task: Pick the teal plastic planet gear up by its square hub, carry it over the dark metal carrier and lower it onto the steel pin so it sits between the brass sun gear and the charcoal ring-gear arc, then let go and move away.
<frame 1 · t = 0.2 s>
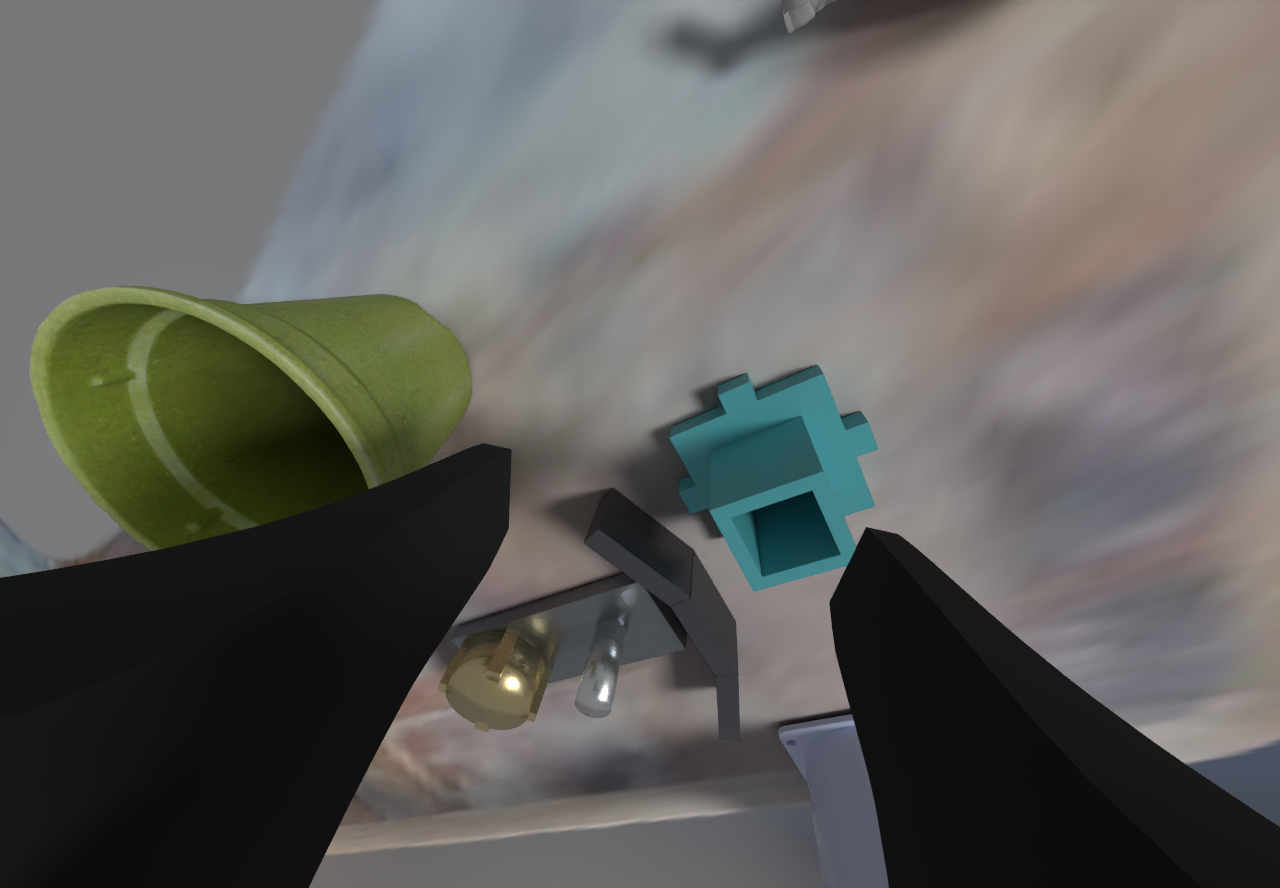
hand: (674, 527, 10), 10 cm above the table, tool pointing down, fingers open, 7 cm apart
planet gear: (770, 459, 19), on the table
carrier: (561, 631, 26), on the table
plant pot: (408, 368, 20), on the table
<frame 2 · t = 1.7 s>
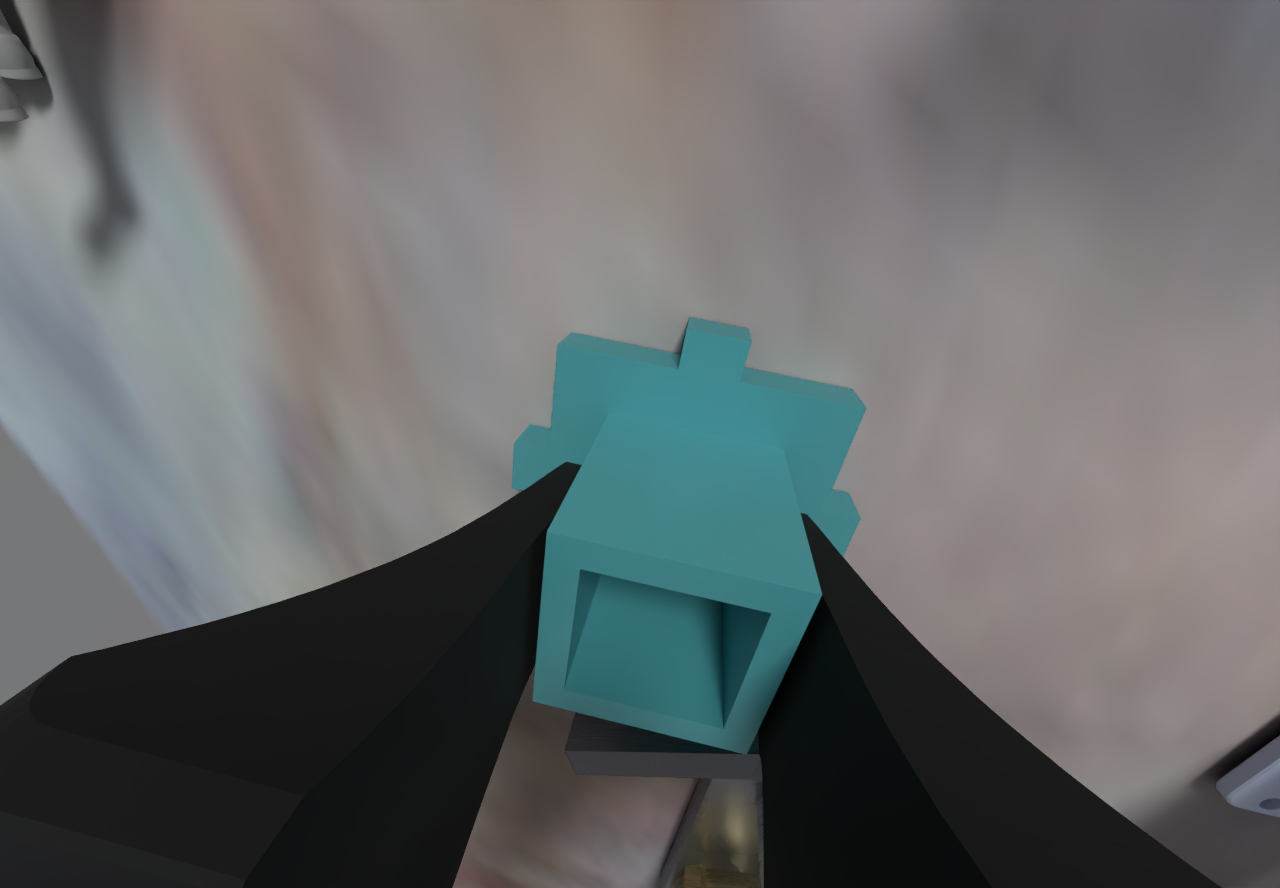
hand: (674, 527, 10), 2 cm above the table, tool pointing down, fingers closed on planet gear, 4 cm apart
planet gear: (681, 479, 11), on the table, touching gripper
carrier: (750, 824, 18), on the table
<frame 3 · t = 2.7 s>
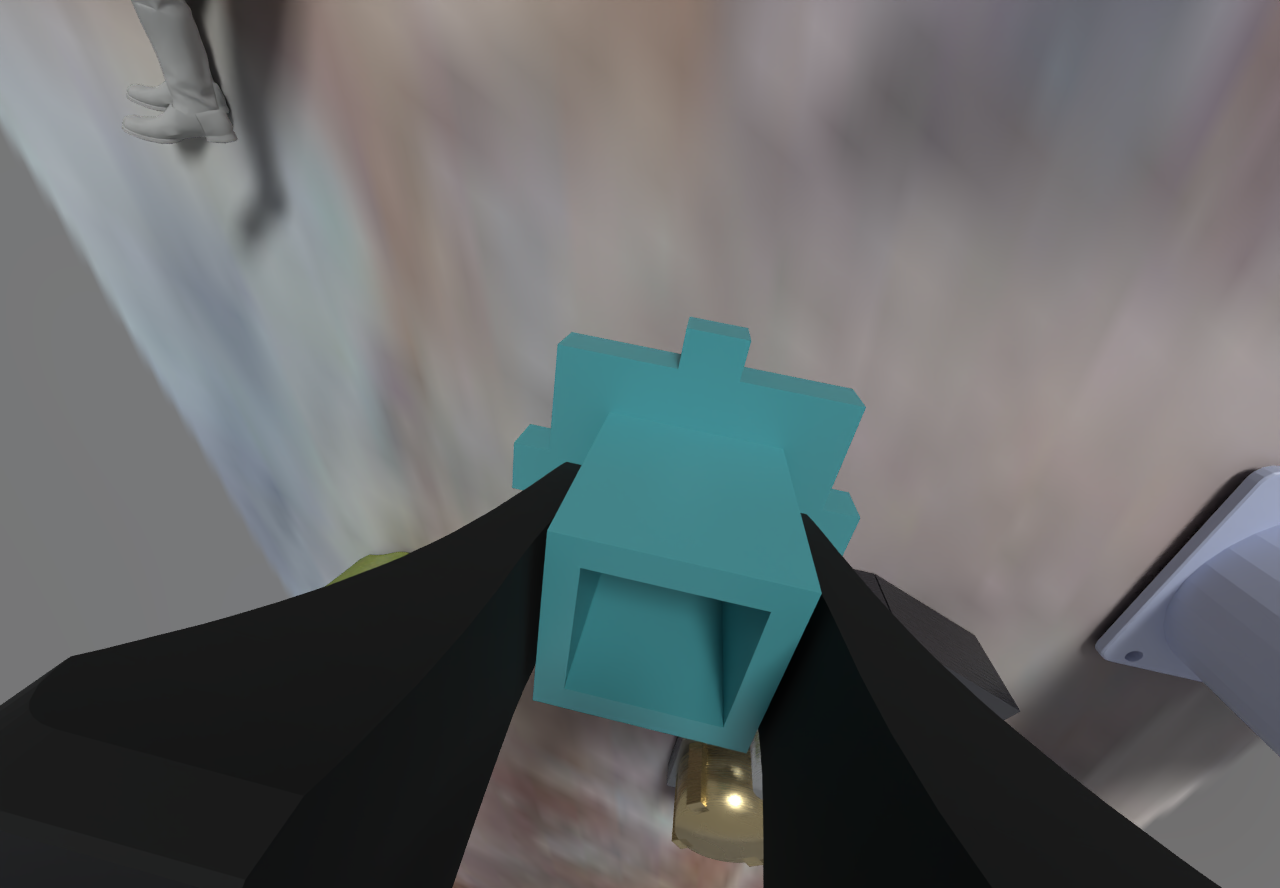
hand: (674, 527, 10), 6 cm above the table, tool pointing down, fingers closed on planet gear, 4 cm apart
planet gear: (681, 479, 11), point 4 cm above the table, touching gripper
carrier: (743, 709, 22), on the table
plant pot: (420, 598, 22), on the table
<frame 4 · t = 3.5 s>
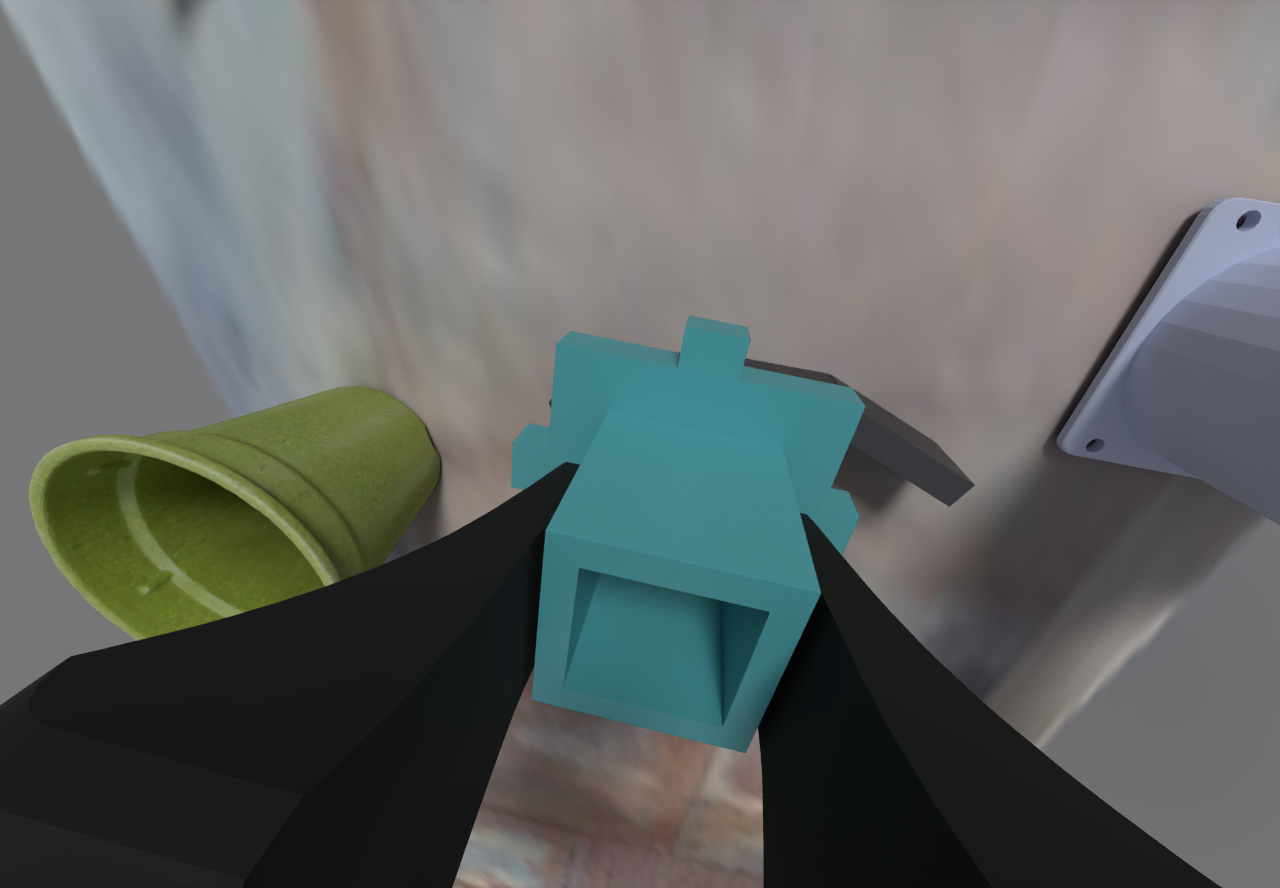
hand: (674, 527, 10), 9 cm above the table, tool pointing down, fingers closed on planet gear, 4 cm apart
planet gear: (680, 478, 11), point 7 cm above the table, touching gripper
carrier: (709, 554, 21), on the table
plant pot: (382, 446, 21), on the table
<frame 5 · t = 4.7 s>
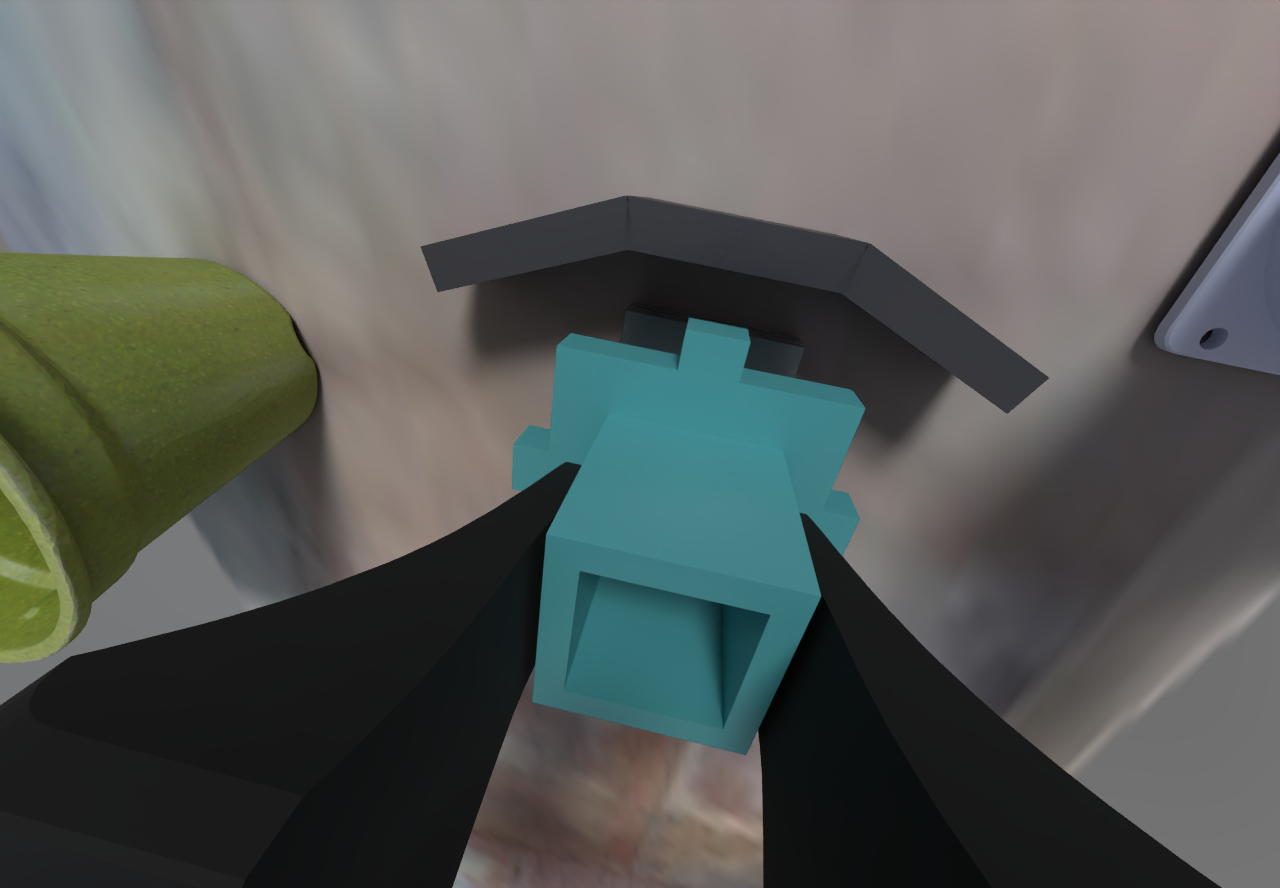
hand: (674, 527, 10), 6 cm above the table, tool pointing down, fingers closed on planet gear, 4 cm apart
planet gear: (680, 479, 11), point 4 cm above the table, touching gripper
carrier: (669, 504, 16), on the table
plant pot: (245, 352, 16), on the table
when the fingers open (4 cm above the table, at t = 5.5 s): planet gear stays where it is, resting on carrier.
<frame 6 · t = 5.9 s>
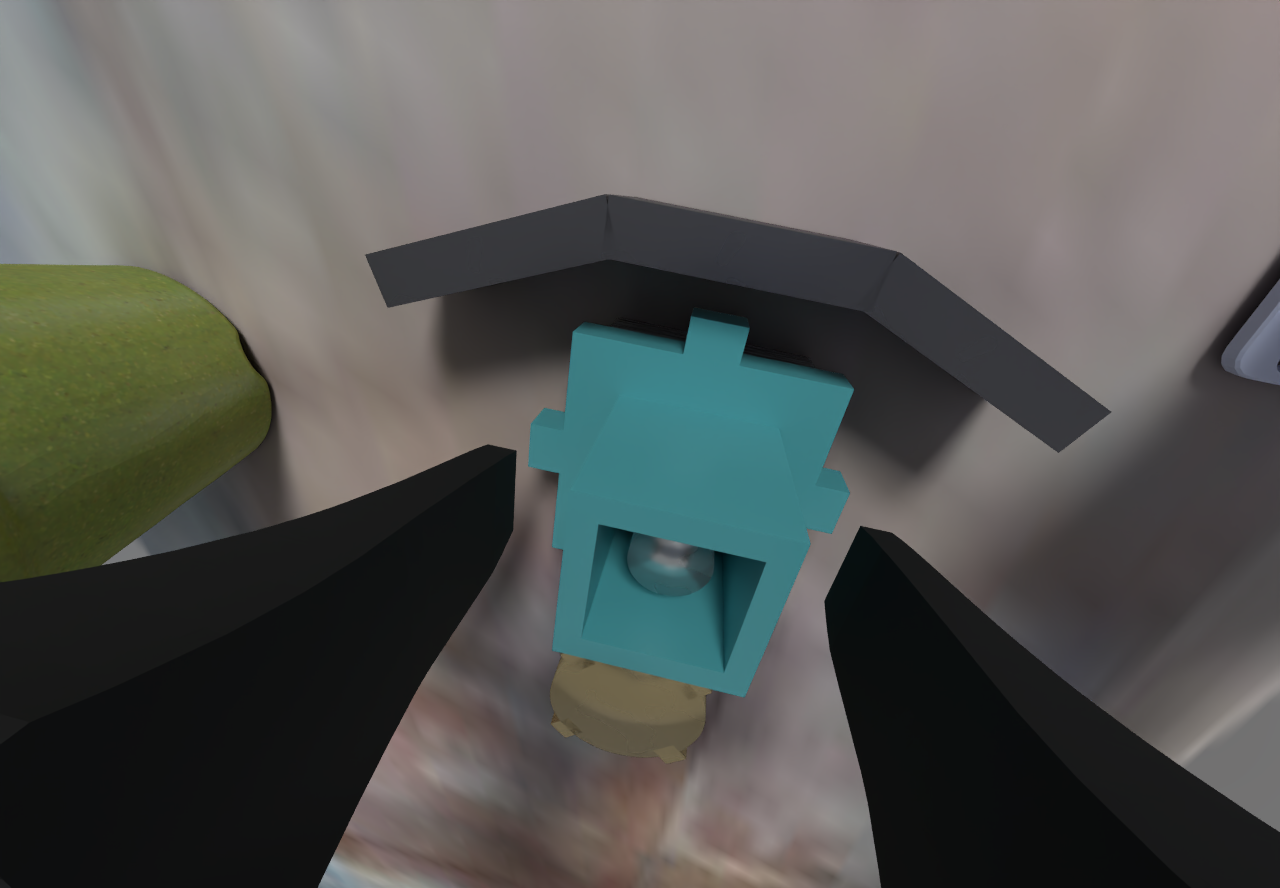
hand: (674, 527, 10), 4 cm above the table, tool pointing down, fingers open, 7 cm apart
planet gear: (684, 459, 12), point 1 cm above the table, touching carrier
carrier: (662, 537, 15), on the table
plant pot: (191, 369, 15), on the table
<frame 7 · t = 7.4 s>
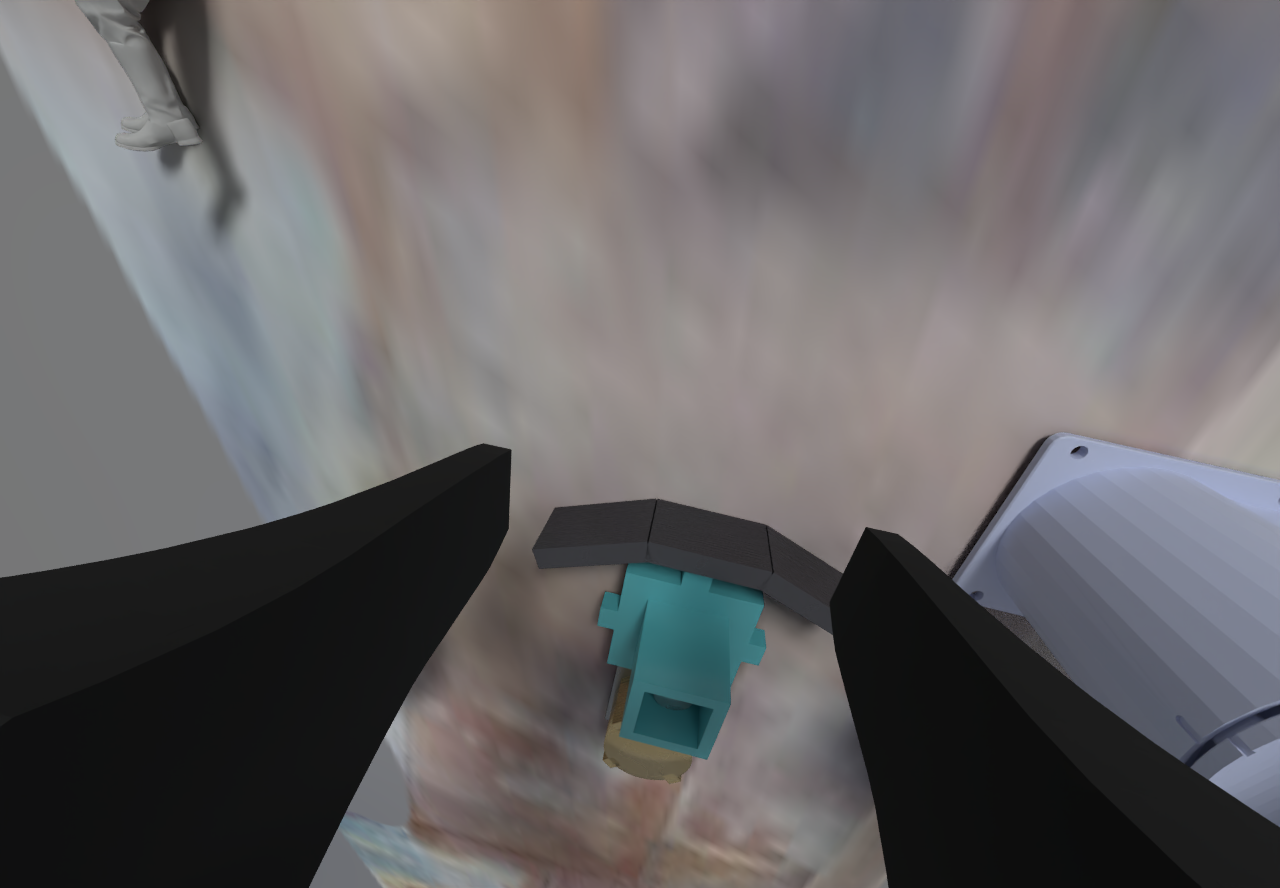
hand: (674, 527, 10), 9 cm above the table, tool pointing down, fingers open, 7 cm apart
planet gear: (681, 619, 22), point 1 cm above the table, touching carrier
carrier: (668, 649, 25), on the table
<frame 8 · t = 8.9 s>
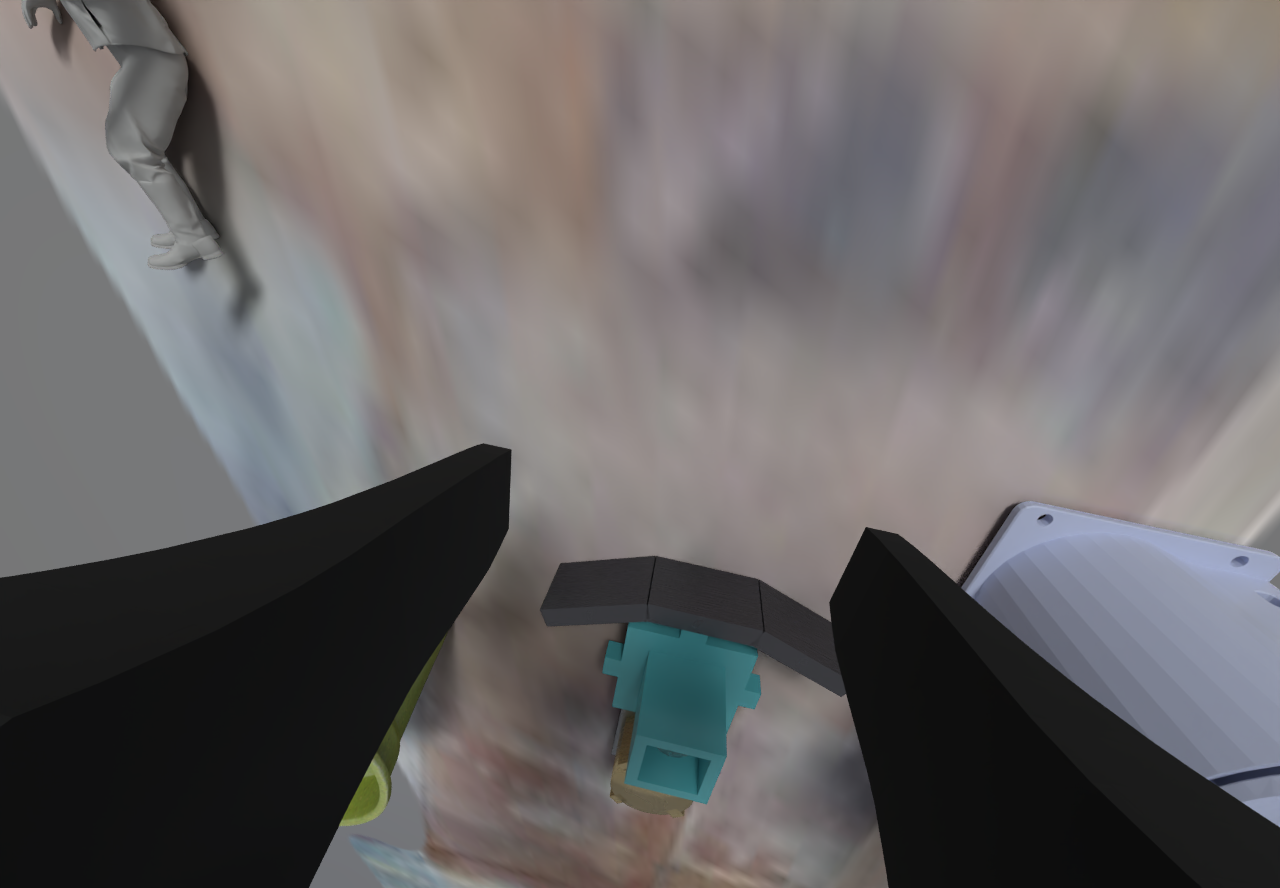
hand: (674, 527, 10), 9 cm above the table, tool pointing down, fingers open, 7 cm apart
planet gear: (681, 665, 24), point 1 cm above the table, touching carrier
carrier: (670, 689, 26), on the table
plant pot: (405, 597, 26), on the table
soldier figure: (177, 64, 16), on the table
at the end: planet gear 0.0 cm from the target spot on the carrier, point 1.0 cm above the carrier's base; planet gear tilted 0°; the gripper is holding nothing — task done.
